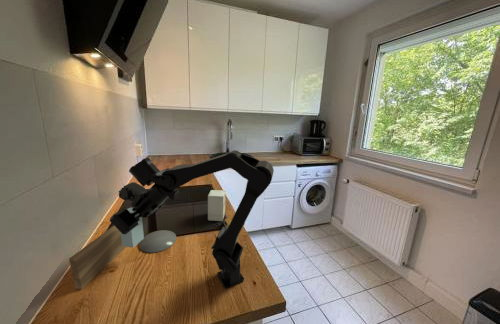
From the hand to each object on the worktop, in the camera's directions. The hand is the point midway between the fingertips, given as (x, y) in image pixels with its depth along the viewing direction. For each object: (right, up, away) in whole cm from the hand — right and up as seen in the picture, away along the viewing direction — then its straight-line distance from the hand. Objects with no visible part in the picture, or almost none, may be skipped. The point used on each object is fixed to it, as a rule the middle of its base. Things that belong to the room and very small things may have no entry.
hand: (127, 223), depth 65 cm
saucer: (+4, -11, +13) cm, 17 cm away
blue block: (+1, -7, +1) cm, 7 cm away
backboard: (-8, -13, +1) cm, 15 cm away
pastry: (+32, -9, +26) cm, 42 cm away
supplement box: (+24, -7, +32) cm, 41 cm away
